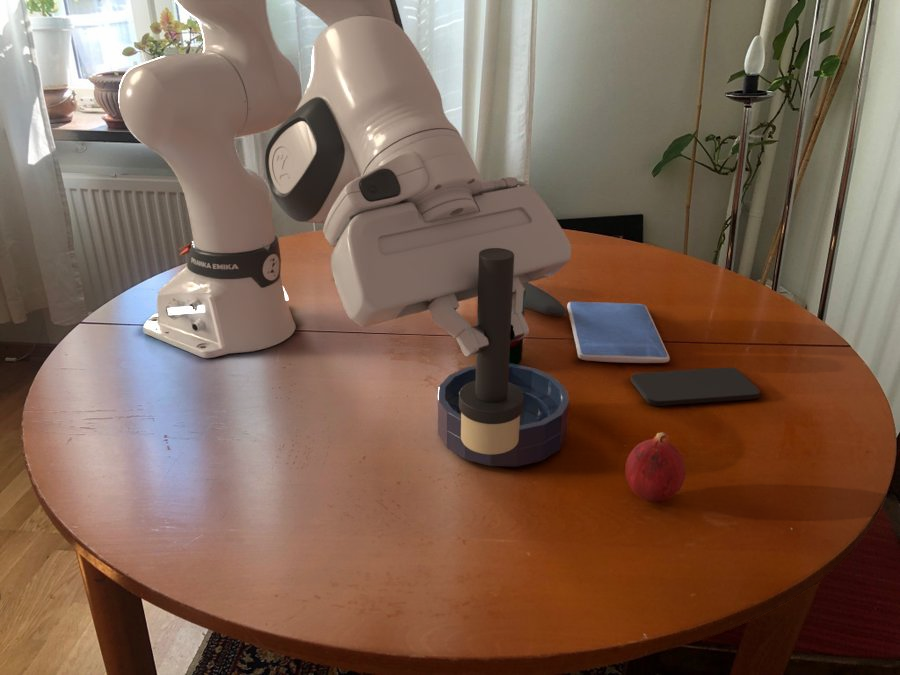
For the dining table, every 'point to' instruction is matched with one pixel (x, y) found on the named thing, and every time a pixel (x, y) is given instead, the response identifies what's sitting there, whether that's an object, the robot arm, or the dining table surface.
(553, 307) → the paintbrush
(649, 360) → the tablet
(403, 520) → the dining table surface
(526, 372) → the bowl
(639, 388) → the phone
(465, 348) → the robot arm
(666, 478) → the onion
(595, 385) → the dining table surface
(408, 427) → the dining table surface
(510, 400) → the dish brush
